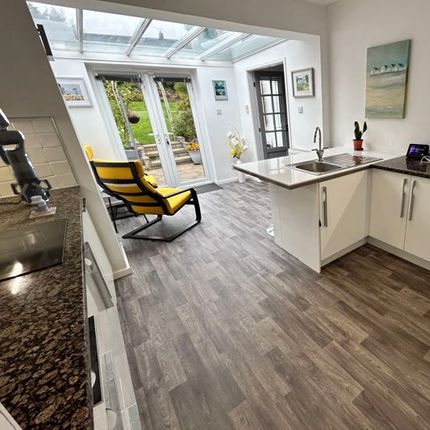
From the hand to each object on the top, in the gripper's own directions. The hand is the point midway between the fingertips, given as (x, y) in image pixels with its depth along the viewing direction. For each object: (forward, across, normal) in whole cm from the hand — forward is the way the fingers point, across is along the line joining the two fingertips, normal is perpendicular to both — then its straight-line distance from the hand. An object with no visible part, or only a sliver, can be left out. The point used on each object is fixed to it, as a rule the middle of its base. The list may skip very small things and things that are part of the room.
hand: (37, 199), depth 143 cm
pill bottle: (+7, 0, 0) cm, 7 cm away
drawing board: (+8, 0, 0) cm, 8 cm away
